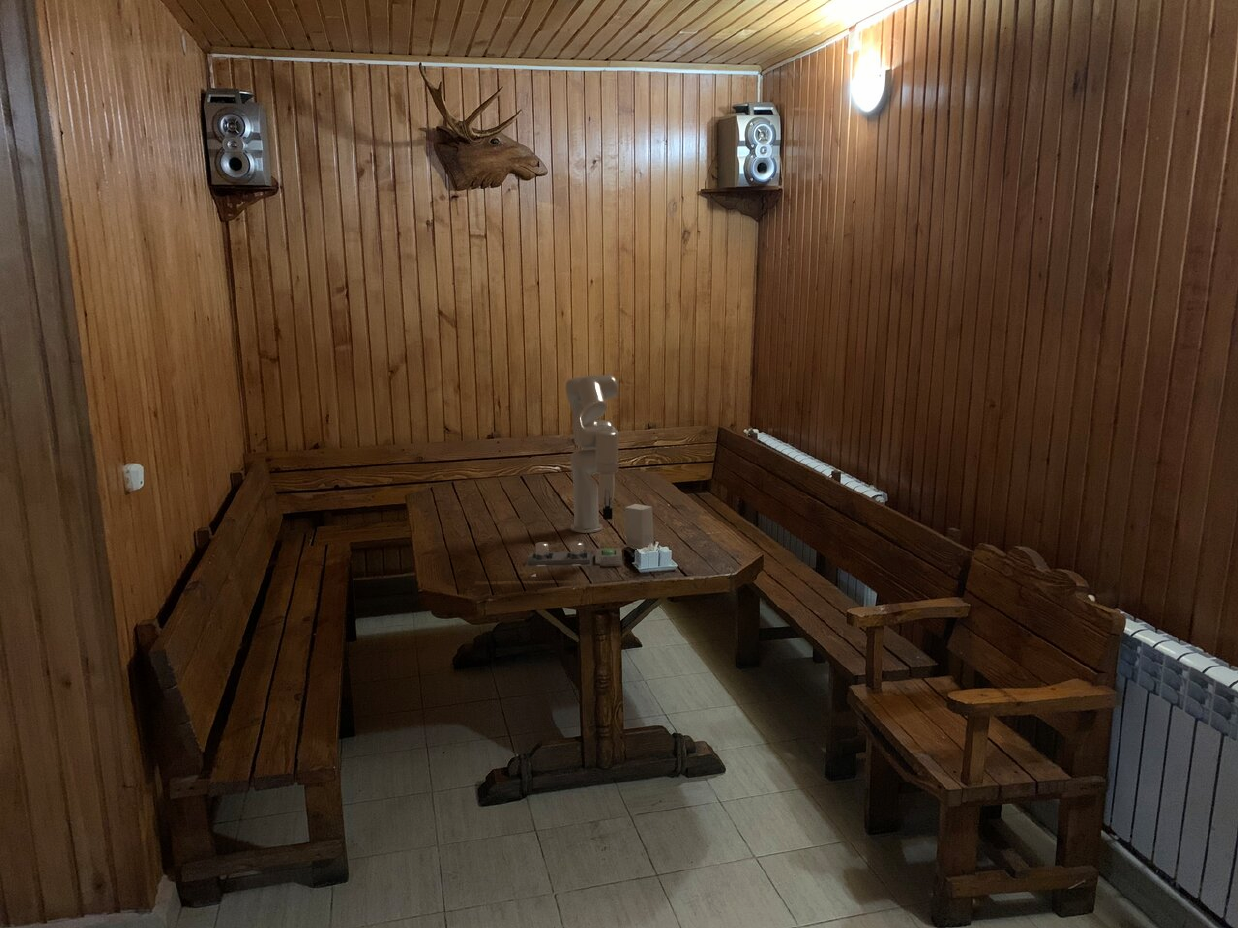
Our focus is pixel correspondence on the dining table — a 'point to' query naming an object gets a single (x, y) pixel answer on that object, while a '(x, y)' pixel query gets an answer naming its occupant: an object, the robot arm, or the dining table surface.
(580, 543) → the billet
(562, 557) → the pallet
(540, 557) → the billet
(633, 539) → the skincare box
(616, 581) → the dining table surface
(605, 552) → the button
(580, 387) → the robot arm
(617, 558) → the button housing
